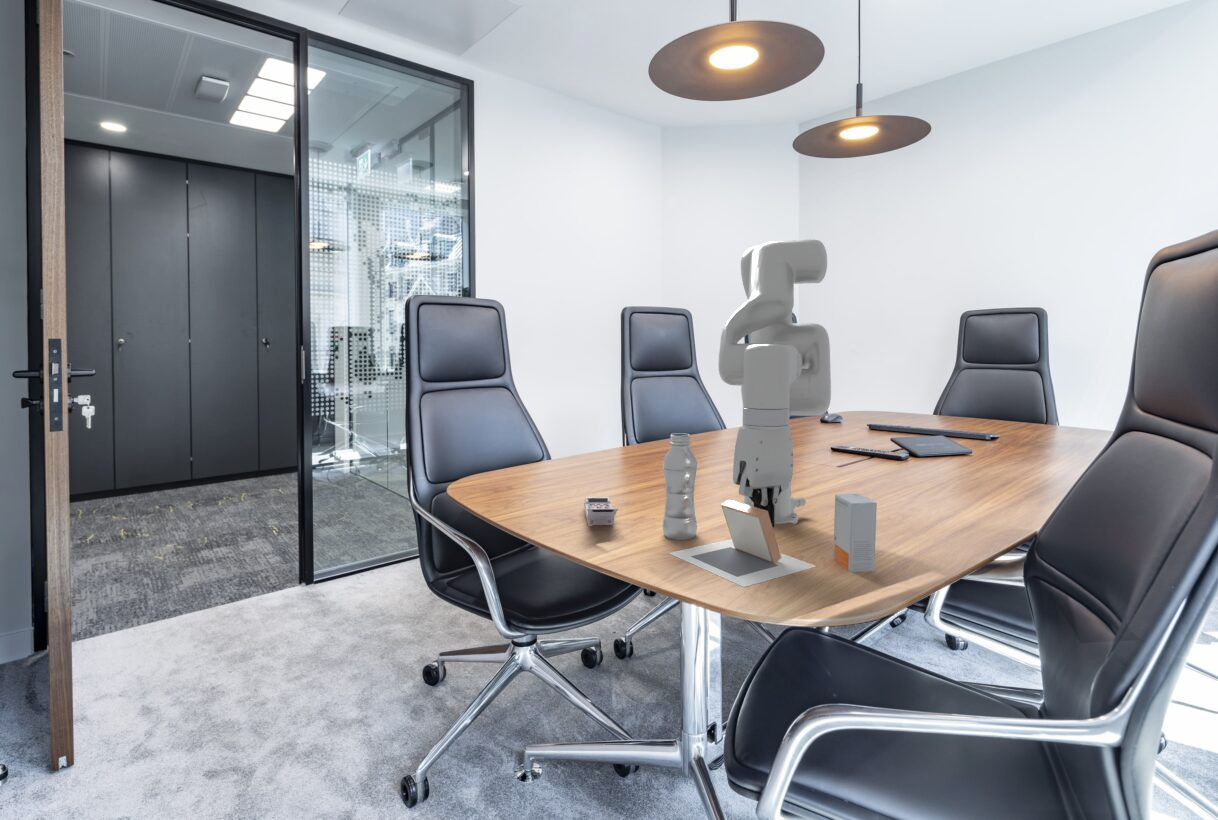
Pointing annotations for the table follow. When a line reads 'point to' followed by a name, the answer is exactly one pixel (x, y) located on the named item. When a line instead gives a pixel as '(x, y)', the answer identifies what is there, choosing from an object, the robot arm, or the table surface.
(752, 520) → the tile
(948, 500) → the table surface
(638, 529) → the table surface
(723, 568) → the mat
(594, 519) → the mobile phone
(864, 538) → the skincare box
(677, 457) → the plastic bottle
